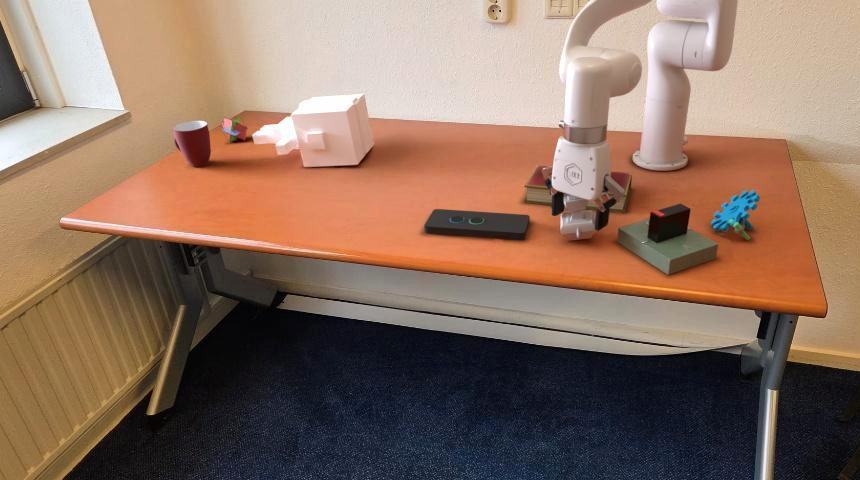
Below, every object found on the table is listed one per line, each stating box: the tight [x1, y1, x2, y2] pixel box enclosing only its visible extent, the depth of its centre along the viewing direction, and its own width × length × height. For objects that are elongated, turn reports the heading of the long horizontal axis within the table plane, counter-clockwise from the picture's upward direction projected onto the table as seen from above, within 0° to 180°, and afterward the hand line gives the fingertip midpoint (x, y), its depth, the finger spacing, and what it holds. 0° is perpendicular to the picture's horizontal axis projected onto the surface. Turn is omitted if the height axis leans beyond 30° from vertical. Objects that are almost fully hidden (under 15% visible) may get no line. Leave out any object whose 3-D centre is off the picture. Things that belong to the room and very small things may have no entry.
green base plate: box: [616, 218, 719, 276], centre depth 120 cm, size 14×11×3 cm
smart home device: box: [423, 208, 531, 241], centre depth 131 cm, size 8×2×20 cm
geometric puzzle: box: [220, 115, 249, 144], centre depth 180 cm, size 7×7×8 cm
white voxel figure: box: [251, 93, 375, 168], centre depth 165 cm, size 15×25×28 cm
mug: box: [172, 120, 212, 168], centre depth 165 cm, size 11×8×10 cm
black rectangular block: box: [647, 203, 692, 243], centre depth 118 cm, size 7×3×5 cm, turn 117°
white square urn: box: [559, 194, 597, 241], centre depth 124 cm, size 9×7×8 cm
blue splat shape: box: [710, 189, 761, 241], centre depth 125 cm, size 11×6×10 cm
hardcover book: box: [523, 164, 633, 213], centre depth 142 cm, size 12×21×4 cm, turn 72°
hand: (578, 220), depth 124 cm, fingers open, 9 cm apart
